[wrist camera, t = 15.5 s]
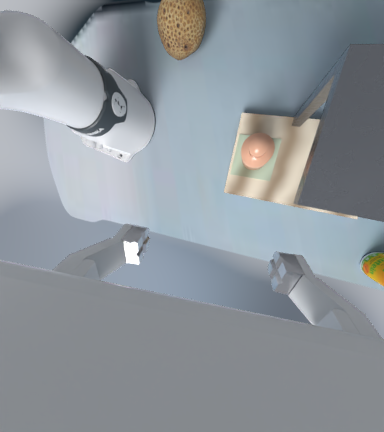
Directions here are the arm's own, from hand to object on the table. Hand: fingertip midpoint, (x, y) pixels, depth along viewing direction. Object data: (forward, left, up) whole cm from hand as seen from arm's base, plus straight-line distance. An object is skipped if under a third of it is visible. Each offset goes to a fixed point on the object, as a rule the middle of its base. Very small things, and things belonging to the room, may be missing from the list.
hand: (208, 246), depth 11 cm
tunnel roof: (+13, +11, -27) cm, 32 cm away
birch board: (+10, +10, -29) cm, 33 cm away
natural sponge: (-16, +31, -29) cm, 45 cm away
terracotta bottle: (+2, +10, -27) cm, 29 cm away
